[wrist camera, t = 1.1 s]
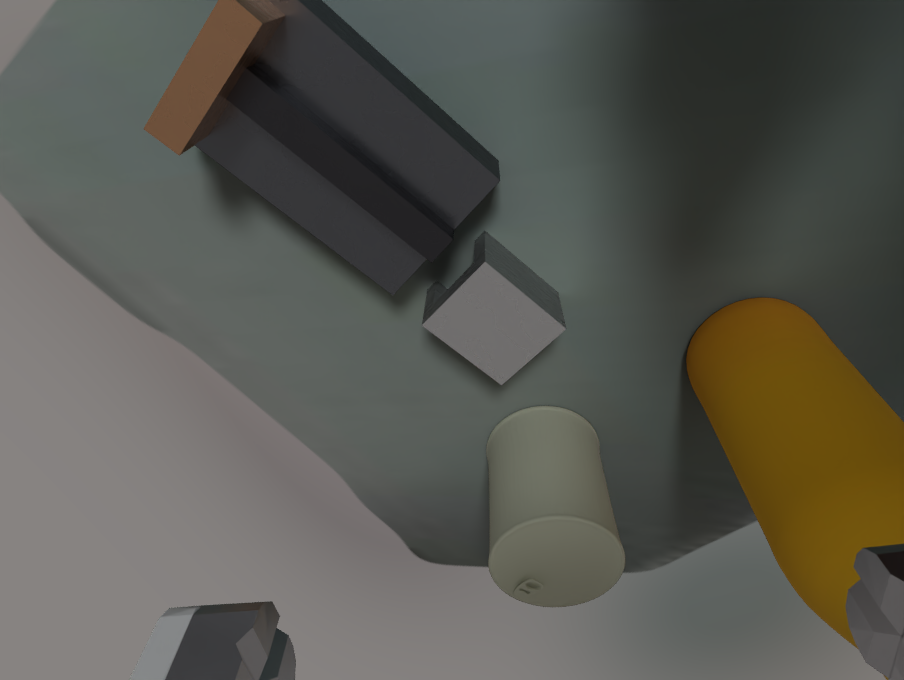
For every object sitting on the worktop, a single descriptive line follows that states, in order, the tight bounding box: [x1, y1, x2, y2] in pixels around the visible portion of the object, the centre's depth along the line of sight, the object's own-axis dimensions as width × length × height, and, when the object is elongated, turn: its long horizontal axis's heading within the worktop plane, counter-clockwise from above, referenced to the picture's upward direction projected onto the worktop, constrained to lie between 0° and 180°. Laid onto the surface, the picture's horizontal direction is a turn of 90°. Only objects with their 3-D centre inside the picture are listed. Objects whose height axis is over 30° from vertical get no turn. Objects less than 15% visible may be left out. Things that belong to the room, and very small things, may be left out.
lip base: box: [144, 0, 500, 295], centre depth 36 cm, size 16×10×8 cm, turn 49°
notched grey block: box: [422, 230, 566, 385], centre depth 42 cm, size 7×6×5 cm
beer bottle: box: [686, 298, 904, 680], centre depth 34 cm, size 9×9×29 cm
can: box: [486, 406, 625, 607], centre depth 47 cm, size 9×9×12 cm
